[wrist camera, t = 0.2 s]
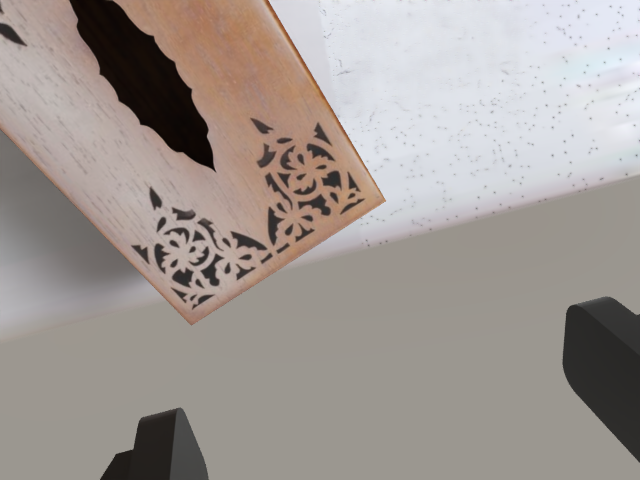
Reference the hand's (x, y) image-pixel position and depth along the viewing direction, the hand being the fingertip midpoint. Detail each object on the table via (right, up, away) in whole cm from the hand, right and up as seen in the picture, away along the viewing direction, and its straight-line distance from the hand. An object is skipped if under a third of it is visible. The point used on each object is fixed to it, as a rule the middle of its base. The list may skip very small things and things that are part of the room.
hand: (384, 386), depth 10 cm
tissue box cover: (-12, +15, +24) cm, 30 cm away
